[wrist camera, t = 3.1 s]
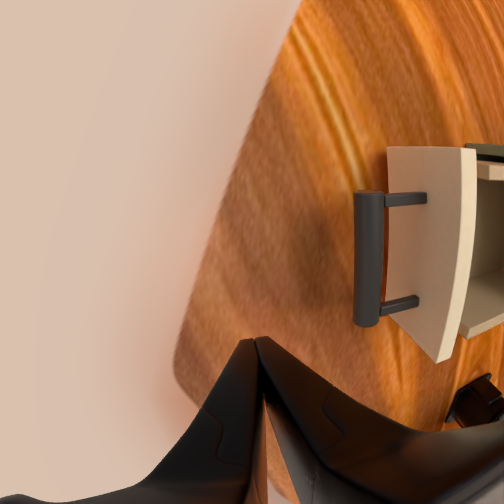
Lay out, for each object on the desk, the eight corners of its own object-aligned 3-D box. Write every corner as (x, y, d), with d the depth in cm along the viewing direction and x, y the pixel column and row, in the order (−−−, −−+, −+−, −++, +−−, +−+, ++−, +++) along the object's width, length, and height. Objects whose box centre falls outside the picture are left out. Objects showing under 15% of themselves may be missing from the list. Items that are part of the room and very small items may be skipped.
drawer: (330, 322, 20) (371, 387, 13) (323, 147, 16) (384, 143, 10) (495, 277, 21) (544, 307, 14) (504, 154, 17) (563, 163, 11)
